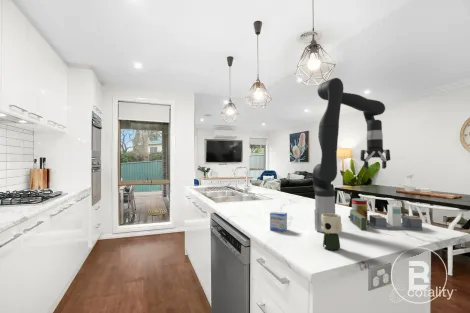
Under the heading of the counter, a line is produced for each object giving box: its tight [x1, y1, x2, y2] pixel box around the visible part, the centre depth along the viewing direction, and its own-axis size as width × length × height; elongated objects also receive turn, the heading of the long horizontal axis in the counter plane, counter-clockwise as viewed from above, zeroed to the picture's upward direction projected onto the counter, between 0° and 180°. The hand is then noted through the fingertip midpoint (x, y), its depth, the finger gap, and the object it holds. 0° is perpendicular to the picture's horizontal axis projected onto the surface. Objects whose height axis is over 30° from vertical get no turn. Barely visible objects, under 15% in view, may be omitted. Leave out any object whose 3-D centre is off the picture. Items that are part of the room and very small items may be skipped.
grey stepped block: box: [367, 214, 424, 231], centre depth 121 cm, size 22×9×5 cm, turn 81°
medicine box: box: [269, 211, 288, 232], centre depth 118 cm, size 8×4×9 cm, turn 68°
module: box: [386, 204, 402, 226], centre depth 121 cm, size 4×5×10 cm
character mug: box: [321, 213, 343, 251], centre depth 92 cm, size 11×7×13 cm, turn 18°
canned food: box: [351, 197, 369, 222], centre depth 136 cm, size 8×8×12 cm
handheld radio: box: [348, 208, 368, 232], centre depth 127 cm, size 7×3×25 cm
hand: (375, 168), depth 127 cm, fingers open, 8 cm apart
